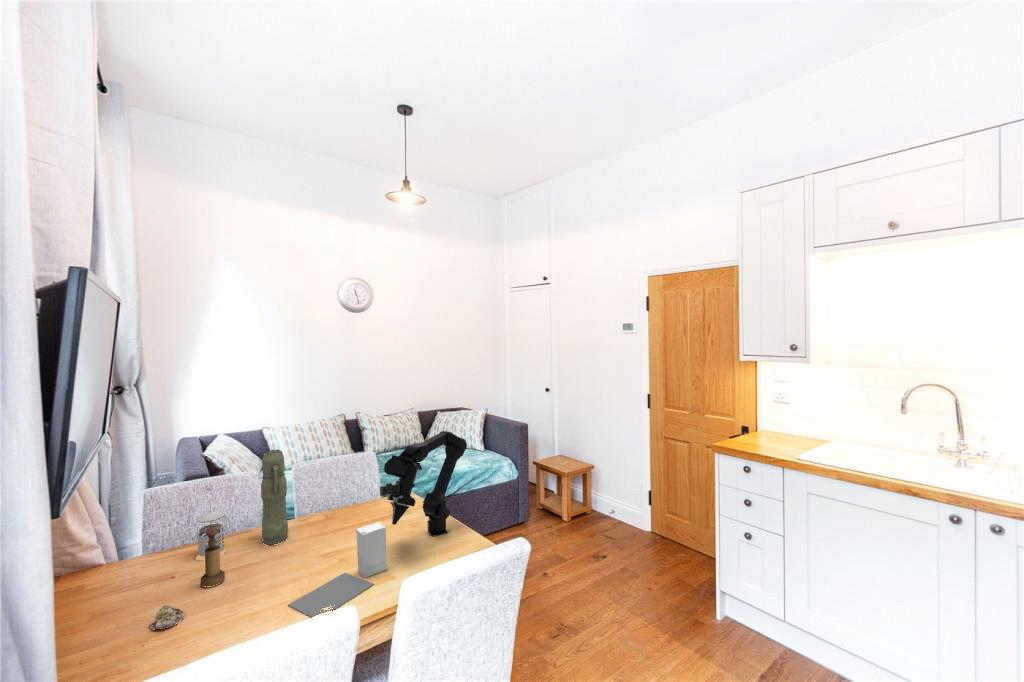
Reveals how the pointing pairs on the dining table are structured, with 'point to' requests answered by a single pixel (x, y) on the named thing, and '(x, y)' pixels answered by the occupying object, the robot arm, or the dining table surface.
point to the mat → (331, 595)
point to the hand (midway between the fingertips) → (393, 524)
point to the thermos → (274, 498)
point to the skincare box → (371, 549)
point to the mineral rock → (167, 617)
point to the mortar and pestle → (212, 561)
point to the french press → (209, 518)
